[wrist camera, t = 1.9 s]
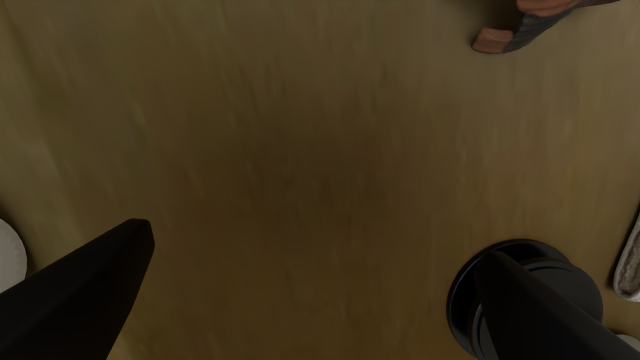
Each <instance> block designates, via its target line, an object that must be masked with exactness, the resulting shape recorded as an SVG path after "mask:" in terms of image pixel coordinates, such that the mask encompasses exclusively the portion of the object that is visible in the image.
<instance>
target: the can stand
mask: <svg viewBox="0 0 640 360" xmlns="http://www.w3.org/2000/svg"><path fill="white" fill-rule="evenodd" d="M487 251H496V252H503V253H505V254H506V255H508V256H509V257H510V258H512V259H513V260H514V261H516V262H517V263H519V264H520V265H521V266H523V267H524V268H525V269H527V270H528V271H529V272H531V273H532V274H534V275H535V276H536V277H538V278H539V279H540V280H542V281H543V282H545V283H546V284H547V285H549V286H550V287H551V288H553V289H554V290H555V291H557V292H558V293H560V294H561V295H562V296H564V297H565V298H566V299H568V300H569V301H570V302H572V303H573V304H575V305H576V306H577V307H579V308H580V309H581V310H583V311H584V312H586V313H587V314H588V315H590V316H591V317H592V318H594V319H595V320H596V321H598V322H599V323H602V318H603V303H602V297H601V294H600V291H599V289H598V287H597V285H596V284H595V282H594V281H593V279H592V278H591V277H590V276H589V275H588V274H587V273H586V272H584V271H583V270H581V269H580V268H578V267H576V266H574V265H572V264H571V263H570V262H569V260H568V259H567V258H566V257H565V256H564V255H563V254H562V253H560V252H559V251H558V250H556V249H554V248H552V247H551V246H549V245H547V244H544V243H542V242H539V241H534V240H529V239H516V240H508V241H504V242H500V243H497V244H494V245H492V246H490V247H488V248H486V249H484V250H483V251H481V252H480V253H478V254H477V255H475V256H474V257H473V258H472V259H471V260H470V261H469V262H468V263H467V264H466V265H465V266H464V267H463V268H462V269H461V271H460V272H459V273H458V275H457V276H456V278H455V280H454V282H453V284H452V286H451V289H450V292H449V295H448V300H447V320H448V323H449V327H450V329H451V332H452V334H453V335H454V337H455V338H456V340H457V341H458V343H459V344H460V345H461V346H462V347H463V349H465V350H466V351H467V352H468V353H469V354H471V355H473V356H474V357H476V358H477V359H478V360H499V359H498V356H497V353H496V351H495V348H494V345H493V343H492V340H491V337H490V334H489V332H488V328H487V325H486V322H485V318H484V314H483V311H482V307H481V304H480V300H479V296H478V293H477V289H476V285H475V282H474V277H473V273H474V269H475V268H476V266H477V265H478V263H479V261H480V260H481V258H482V257H483V255H484V254H485V253H486V252H487Z"/></svg>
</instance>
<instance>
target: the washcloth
mask: <svg viewBox="0 0 640 360" xmlns="http://www.w3.org/2000/svg"><path fill="white" fill-rule="evenodd" d="M613 288H614V290H615V292H616V294H617V295H618V296H619V297H620V298H622V299H626V300H628V301H632V302H634V301H635V302H640V214H639V216H638V219H637V221H636V225H635V227H634V229H633V230H632V233H631V234H630V237H629V239H628V241H627V245H626V246H625V249H624V250H623V252H622V255H621V258H620V260H619V263H618V266H617V268H616V271H615V274H614V281H613Z"/></svg>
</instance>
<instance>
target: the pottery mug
mask: <svg viewBox="0 0 640 360" xmlns="http://www.w3.org/2000/svg"><path fill="white" fill-rule="evenodd" d="M616 1H620V0H517V2H516V5H517V8H518V10H520V11H521V12H524V15H523V16H522V19H521V21H520V23H519V25H518V26H517V27H516V28H515V29H514V30H497V29H491V28H487V27H484V28H482V29H481V30H480V32H479V34H478V36H477V39H476V40H475V42H474V43H473V45H472V48H473V49H475V50H478V51H481V52H488V53H500V52H502V53H505V52H510V51H514V50H517V49H520V48H522V47H524V46H526V45H527V44H529V43H530V42H531V41H532V40H533V39H535V38H536V37H537V36H539V35H540V34H541V33H543V32H544V31H545V30H547V29H548V28H550V27H552V26H553V25H555V24H556V23H557V22H558V21H559V20H561V19H562V18H564V17H565V16H566V15H568V14H570V13H571V11H572V10H573V9H576V8H579V7H584V6H594V5H602V4H608V3H612V2H616Z"/></svg>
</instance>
